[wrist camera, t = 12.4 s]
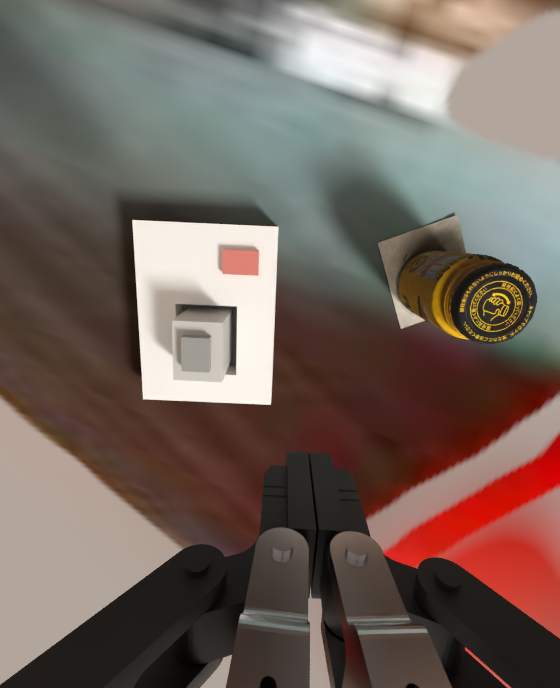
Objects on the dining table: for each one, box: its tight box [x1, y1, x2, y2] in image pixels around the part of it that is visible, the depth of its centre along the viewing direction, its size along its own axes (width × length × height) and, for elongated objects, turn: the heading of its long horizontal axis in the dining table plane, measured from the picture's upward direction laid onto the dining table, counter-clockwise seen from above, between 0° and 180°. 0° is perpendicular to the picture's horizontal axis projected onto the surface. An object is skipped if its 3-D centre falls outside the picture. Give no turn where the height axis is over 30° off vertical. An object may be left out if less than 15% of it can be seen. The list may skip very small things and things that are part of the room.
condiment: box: [378, 215, 537, 344], centre depth 29 cm, size 7×8×12 cm
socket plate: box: [132, 220, 279, 405], centre depth 34 cm, size 16×12×4 cm
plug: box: [172, 307, 233, 382], centre depth 33 cm, size 5×4×7 cm
